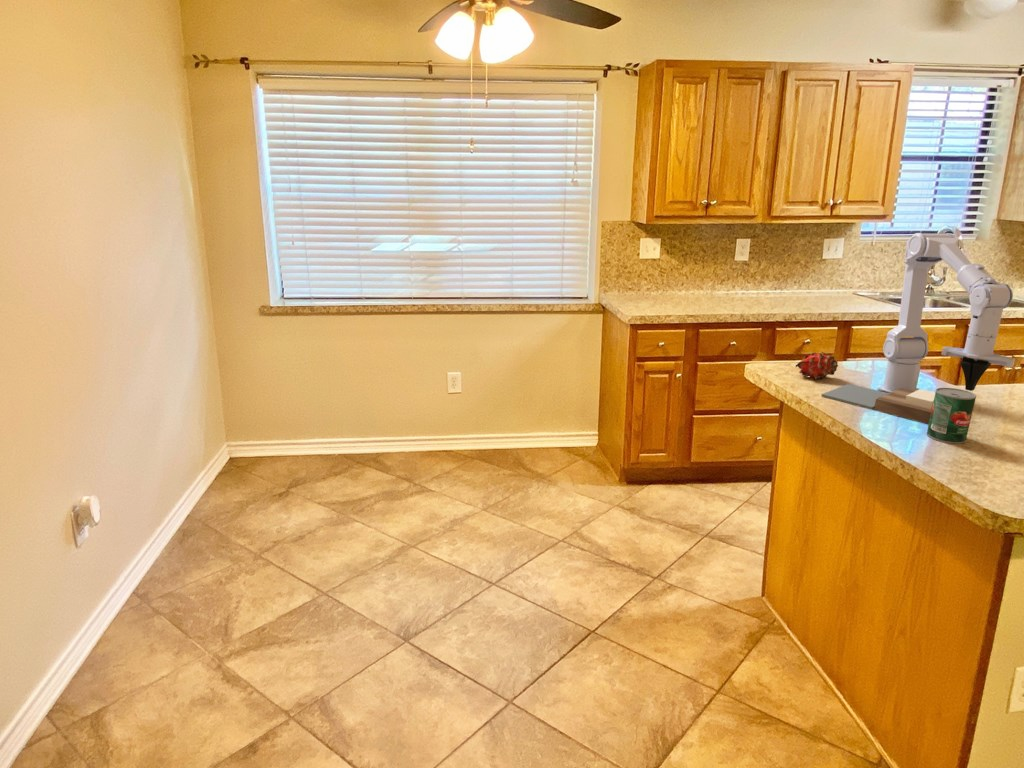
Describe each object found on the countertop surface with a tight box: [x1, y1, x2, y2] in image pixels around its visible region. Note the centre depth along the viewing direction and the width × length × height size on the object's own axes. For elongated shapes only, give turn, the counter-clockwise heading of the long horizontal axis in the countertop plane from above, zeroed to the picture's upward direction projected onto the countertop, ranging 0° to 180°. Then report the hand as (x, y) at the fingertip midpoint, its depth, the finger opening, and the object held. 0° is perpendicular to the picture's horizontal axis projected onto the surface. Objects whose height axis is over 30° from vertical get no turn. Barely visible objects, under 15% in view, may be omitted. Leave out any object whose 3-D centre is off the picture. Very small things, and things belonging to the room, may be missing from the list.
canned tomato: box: [926, 387, 977, 445], centre depth 155 cm, size 8×8×11 cm
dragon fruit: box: [795, 351, 839, 380], centre depth 201 cm, size 8×8×12 cm
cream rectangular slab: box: [905, 388, 936, 409], centre depth 171 cm, size 9×6×2 cm, turn 130°
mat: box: [821, 383, 889, 410], centre depth 184 cm, size 16×14×1 cm
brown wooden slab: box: [873, 388, 932, 425], centre depth 174 cm, size 16×14×3 cm
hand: (969, 389), depth 163 cm, fingers closed
